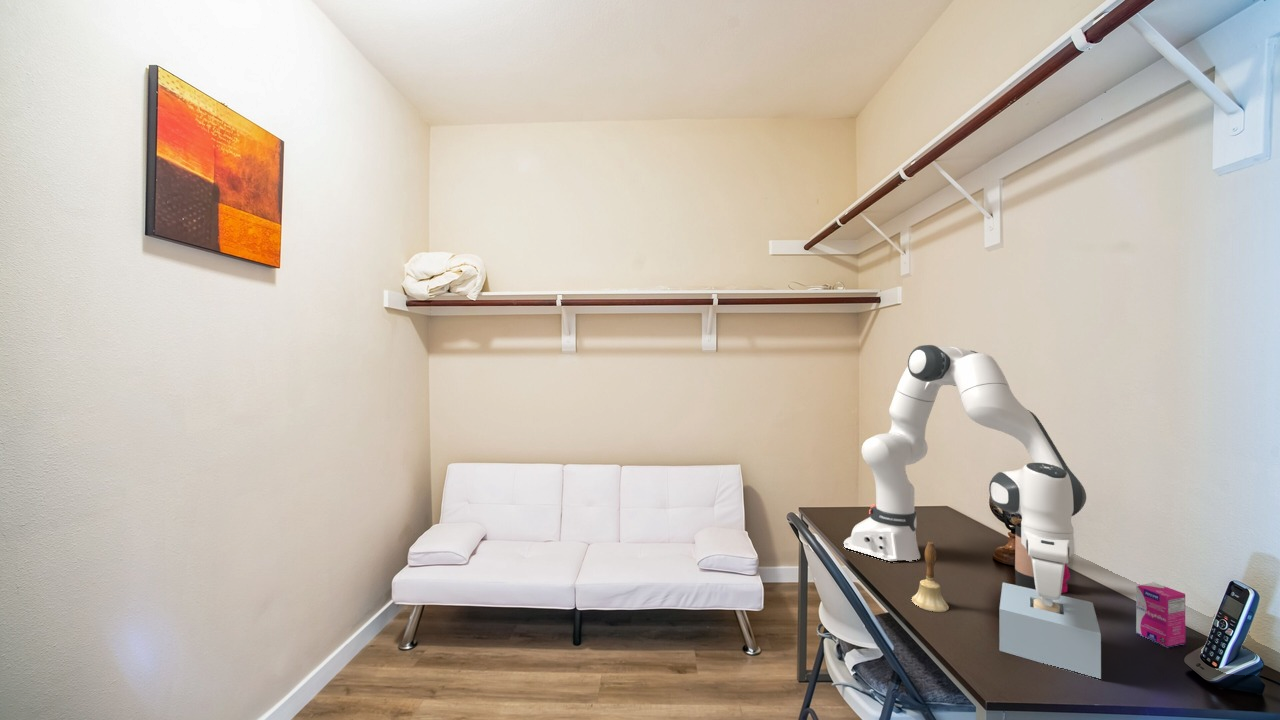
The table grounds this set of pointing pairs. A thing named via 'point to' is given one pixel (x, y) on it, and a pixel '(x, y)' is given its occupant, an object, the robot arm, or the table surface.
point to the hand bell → (930, 586)
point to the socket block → (1050, 631)
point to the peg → (1039, 605)
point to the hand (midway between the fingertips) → (1046, 603)
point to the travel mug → (1023, 563)
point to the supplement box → (1160, 614)
